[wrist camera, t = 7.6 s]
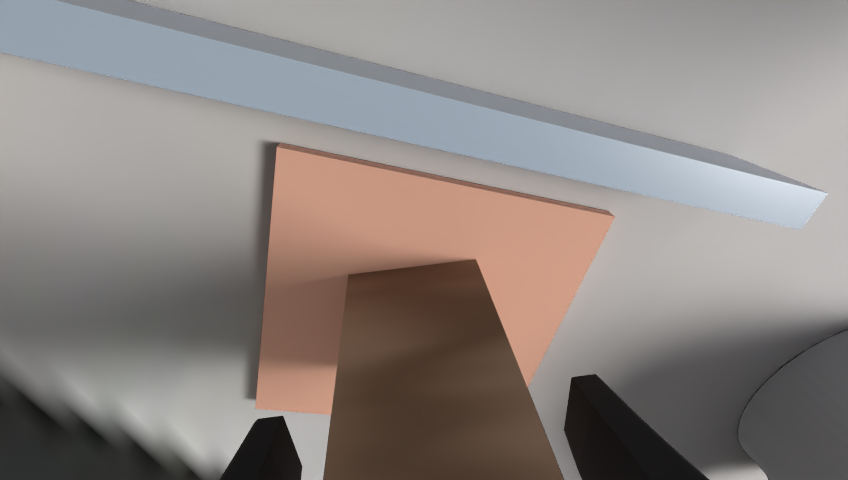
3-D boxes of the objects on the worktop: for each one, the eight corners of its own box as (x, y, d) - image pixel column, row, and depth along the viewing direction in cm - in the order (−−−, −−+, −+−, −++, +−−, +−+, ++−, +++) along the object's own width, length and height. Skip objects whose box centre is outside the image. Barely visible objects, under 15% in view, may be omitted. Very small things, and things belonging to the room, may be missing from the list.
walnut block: (476, 259, 13) (566, 485, 7) (477, 352, 15) (548, 593, 8) (348, 274, 12) (317, 520, 6) (367, 367, 14) (358, 623, 8)
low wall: (731, 155, 12) (828, 193, 10) (713, 186, 13) (799, 229, 10) (47, -21, 9) (-97, -38, 6) (55, 30, 9) (-76, 35, 6)
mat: (608, 211, 13) (614, 216, 12) (503, 420, 17) (506, 429, 17) (280, 142, 11) (276, 147, 10) (258, 399, 15) (255, 408, 15)
